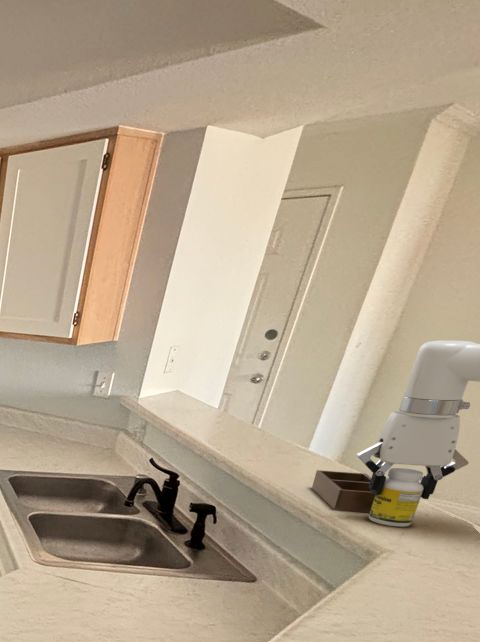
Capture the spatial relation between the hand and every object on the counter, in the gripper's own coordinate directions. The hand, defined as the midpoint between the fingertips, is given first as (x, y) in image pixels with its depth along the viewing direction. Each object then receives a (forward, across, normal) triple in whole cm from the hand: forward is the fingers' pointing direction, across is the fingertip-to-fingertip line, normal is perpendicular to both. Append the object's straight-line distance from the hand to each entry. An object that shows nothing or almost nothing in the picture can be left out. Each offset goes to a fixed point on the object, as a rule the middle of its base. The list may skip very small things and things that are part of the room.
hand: (398, 494), depth 119 cm
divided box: (+6, +3, -14) cm, 16 cm away
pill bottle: (+6, 0, 0) cm, 6 cm away
